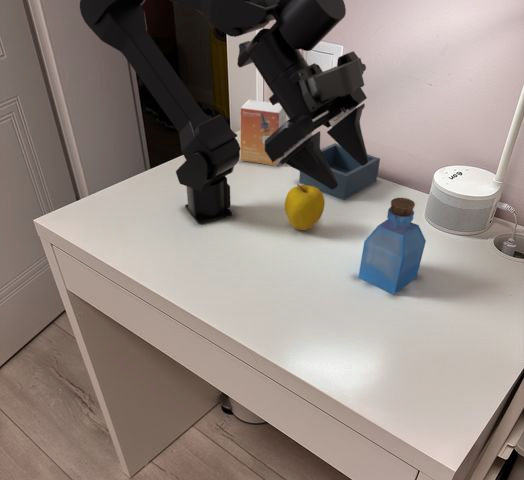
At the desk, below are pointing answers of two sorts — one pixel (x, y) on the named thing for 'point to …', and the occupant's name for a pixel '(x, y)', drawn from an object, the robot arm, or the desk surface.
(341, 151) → the bin
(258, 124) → the small box
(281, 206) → the desk surface
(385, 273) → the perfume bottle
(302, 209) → the apple
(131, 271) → the desk surface
